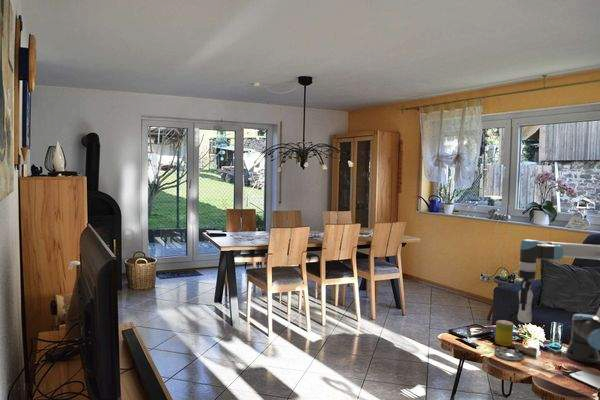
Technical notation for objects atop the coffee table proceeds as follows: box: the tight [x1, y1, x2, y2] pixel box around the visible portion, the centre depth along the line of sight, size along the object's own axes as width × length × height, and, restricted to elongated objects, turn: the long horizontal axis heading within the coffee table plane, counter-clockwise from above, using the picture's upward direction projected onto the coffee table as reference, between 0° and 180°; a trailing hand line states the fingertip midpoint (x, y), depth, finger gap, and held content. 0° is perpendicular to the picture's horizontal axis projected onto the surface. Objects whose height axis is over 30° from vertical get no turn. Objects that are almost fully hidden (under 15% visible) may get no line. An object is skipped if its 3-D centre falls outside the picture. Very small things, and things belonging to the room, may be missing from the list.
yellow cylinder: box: [494, 319, 514, 347], centre depth 268 cm, size 9×9×12 cm
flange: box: [493, 347, 524, 362], centre depth 249 cm, size 14×14×2 cm
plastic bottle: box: [517, 284, 534, 324], centre depth 239 cm, size 6×7×20 cm
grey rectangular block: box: [514, 343, 538, 358], centre depth 252 cm, size 10×4×4 cm, turn 50°
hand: (524, 314), depth 239 cm, fingers closed on plastic bottle, 6 cm apart
